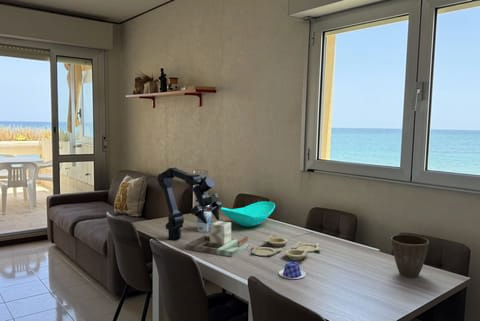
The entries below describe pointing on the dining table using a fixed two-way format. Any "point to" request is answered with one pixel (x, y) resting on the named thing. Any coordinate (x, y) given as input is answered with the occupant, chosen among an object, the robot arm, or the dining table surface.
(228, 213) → the table top decor
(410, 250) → the plant pot
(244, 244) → the board
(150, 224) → the dining table surface
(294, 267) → the purple patterned hat
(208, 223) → the light bulb box
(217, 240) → the ash block
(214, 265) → the dining table surface
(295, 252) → the tableware set
